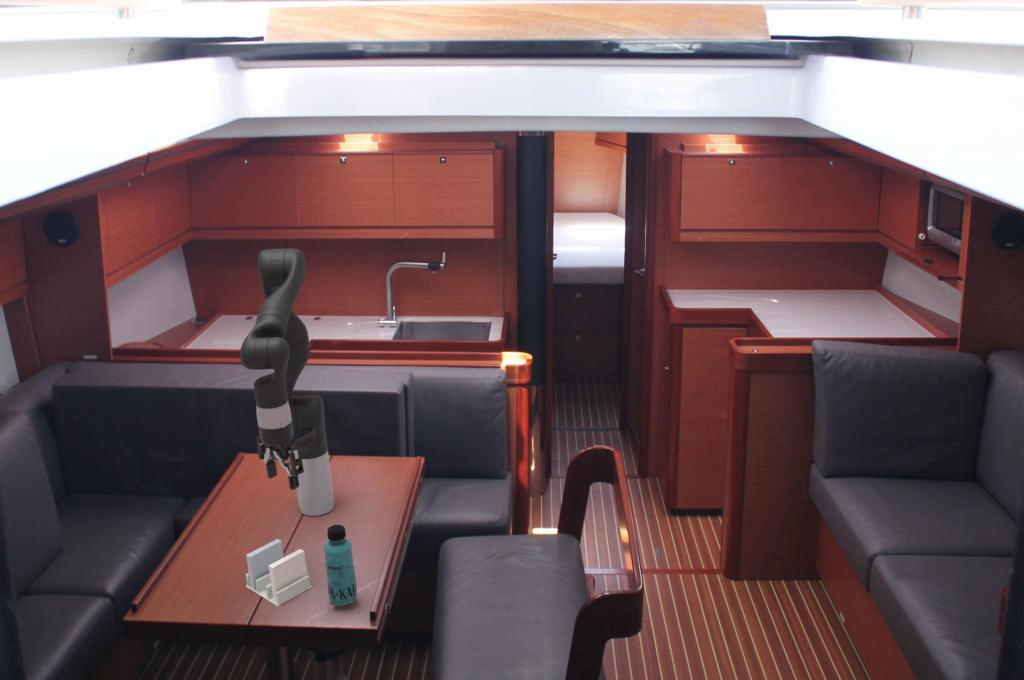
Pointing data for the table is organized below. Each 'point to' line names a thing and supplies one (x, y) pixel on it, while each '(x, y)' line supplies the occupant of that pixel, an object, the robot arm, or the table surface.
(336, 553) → the beverage bottle
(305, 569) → the plate
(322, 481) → the robot arm
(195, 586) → the table surface
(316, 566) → the table surface
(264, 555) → the plate
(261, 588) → the rack
